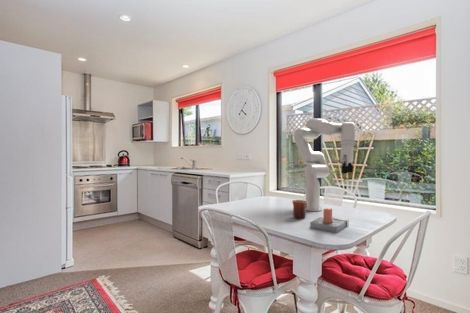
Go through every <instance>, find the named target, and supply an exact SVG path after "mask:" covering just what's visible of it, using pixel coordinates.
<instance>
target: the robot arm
mask: <svg viewBox="0 0 470 313" xmlns="http://www.w3.org/2000/svg"><path fill="white" fill-rule="evenodd" d="M305 124H306V127H298V128H297V129H295V130H294V132H293V139H294V140H293V141H294V143H295V145H296V147H297V149H298V151H299V154H300V157H301V160H302V162H303V164H305V167H304V177H305V178H304V179H305V201H307V207H306V211H308V212H309V211H310V212H321V211H323V208H322V207H320V204H321V202H320V201H321V198H320V197H321V196H320V195H321V184H320V181H319V179H321V178H322V179H323V178H327V177H328V176H330V168H329V165H328V162H327V160H326V158H325V155H324V153H322V152H321V151H314V150H312V147H311V145H310V143H309V142H308V141H307V140H317V139H318V138H319V137H320V136H321V135H326V136H336V137H337V136H338V137H340V146H341V149H340V159H339V160H340V163H341V174H348V173H353V172H354V169H353V168H354V163H353V162H354V147H356V146H355V144H356V139H355V138H356V124H355V123H354V122H350V121H349V122H342V123H337V122H329V121H327V120H326V119H324V118H314V117H311V118H309V119H308V120H306V123H305Z"/></svg>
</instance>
